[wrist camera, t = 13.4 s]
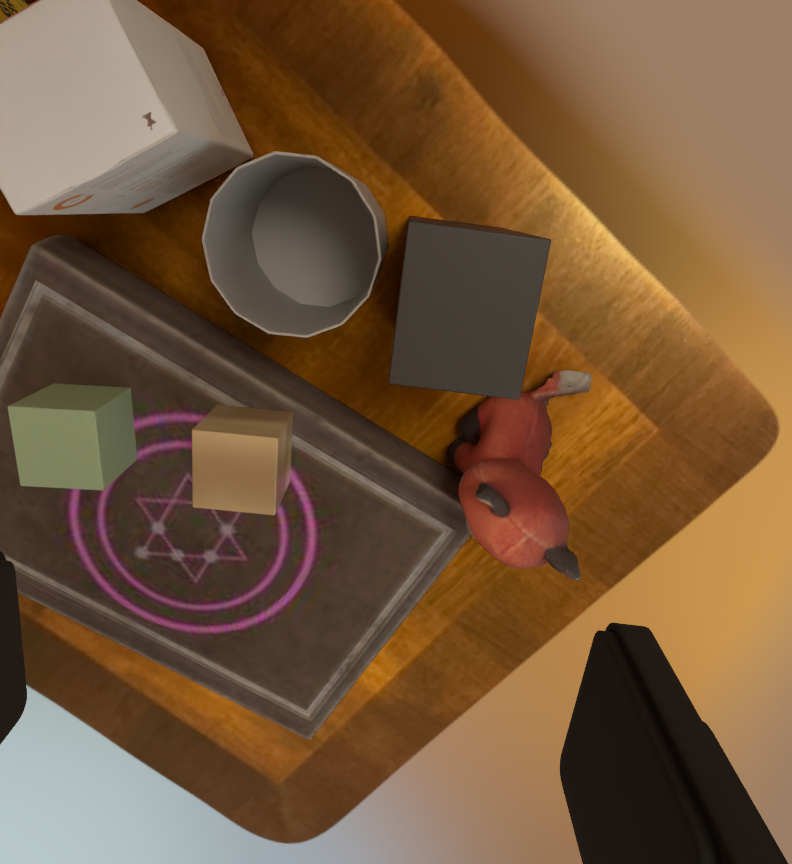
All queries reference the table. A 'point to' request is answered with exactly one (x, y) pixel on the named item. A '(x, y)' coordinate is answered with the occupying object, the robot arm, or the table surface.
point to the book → (208, 528)
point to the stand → (467, 307)
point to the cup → (294, 243)
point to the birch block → (241, 459)
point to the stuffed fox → (515, 478)
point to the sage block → (73, 436)
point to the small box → (107, 110)
